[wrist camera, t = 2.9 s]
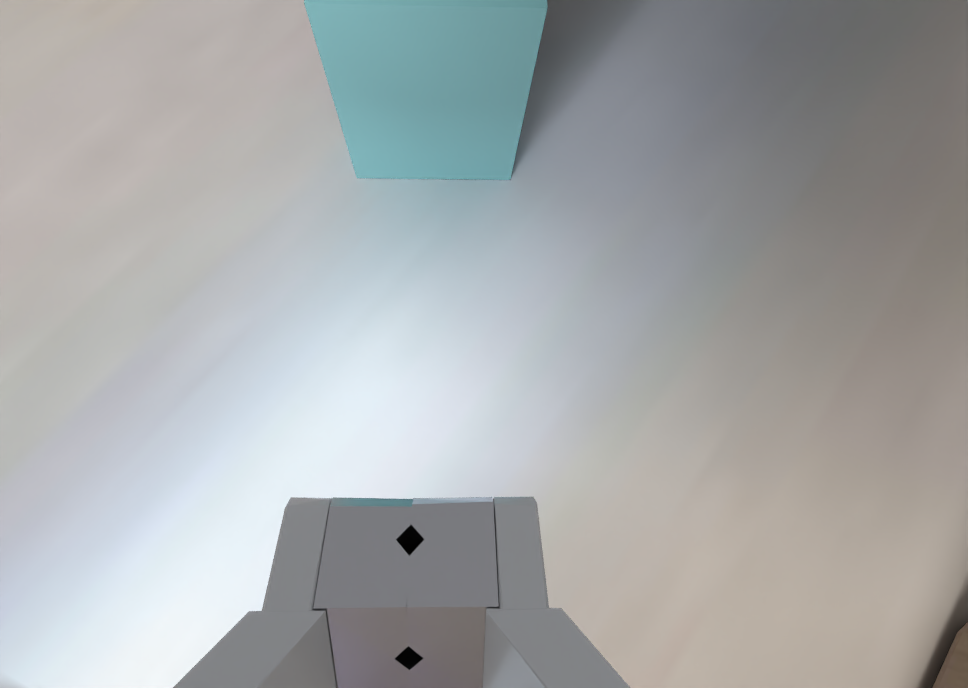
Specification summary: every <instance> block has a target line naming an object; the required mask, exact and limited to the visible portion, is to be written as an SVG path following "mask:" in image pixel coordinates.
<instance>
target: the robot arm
mask: <svg viewBox="0 0 968 688" xmlns="http://www.w3.org/2000/svg"><path fill="white" fill-rule="evenodd" d="M173 688H630V687H629V686H628V684H627V683H626V682H625V681H624V680H623V679H622V678H621V676H620V675H619V674H618V673H617V672H616V671H615V669H614V668H613V667H612V666H611V665H610V664H609V663H608V661H607V660H606V659H605V658H604V657H603V656H602V655H601V653H600V652H599V651H598V650H597V649H596V648H595V646H594V645H593V644H592V643H591V642H590V641H589V640H588V638H587V637H586V636H585V635H584V634H583V633H582V632H581V630H580V629H579V628H578V627H577V626H576V625H575V623H574V622H573V621H572V620H571V619H570V618H569V617H568V615H567V614H566V613H565V612H564V611H563V610H562V609H561V608H549V605H548V596H547V587H546V578H545V569H544V561H543V552H542V543H541V534H540V526H539V517H538V508H537V502H536V501H535V499H534V497H494V499H492V497H466V498H413V499H377V498H290V500H289V502H288V504H287V506H286V507H285V511H284V515H283V520H282V524H281V528H280V533H279V537H278V542H277V546H276V551H275V555H274V559H273V564H272V568H271V573H270V577H269V582H268V586H267V590H266V595H265V599H264V604H263V608H262V611H249V612H248V613H247V614H246V615H245V616H244V617H243V618H242V619H241V620H240V621H239V622H238V623H237V624H236V625H235V626H234V627H233V628H232V629H231V630H230V631H229V632H228V633H227V634H226V635H225V636H224V637H223V638H222V639H221V640H220V641H219V642H218V643H217V644H216V645H215V646H214V647H213V648H212V649H211V650H210V651H209V652H208V653H207V654H206V655H205V656H204V657H203V658H202V659H201V660H200V661H199V662H198V663H197V664H196V665H195V666H194V667H193V668H192V669H191V670H190V671H189V672H188V673H187V674H186V675H185V676H184V677H183V678H182V679H181V680H180V681H179V682H178V683H177V684H176V685H175V686H174V687H173Z"/></svg>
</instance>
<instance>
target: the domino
mask: <svg viewBox="0 0 968 688" xmlns="http://www.w3.org/2000/svg"><path fill="white" fill-rule="evenodd" d="M304 4H305V7H306V11H307V14H308V17H309V21H310V24H311V27H312V31H313V34H314V37H315V41H316V44H317V47H318V51H319V54H320V57H321V60H322V64H323V67H324V70H325V74H326V77H327V80H328V84H329V87H330V90H331V94H332V97H333V100H334V104H335V107H336V110H337V114H338V117H339V120H340V124H341V127H342V130H343V134H344V137H345V140H346V144H347V147H348V150H349V154H350V157H351V160H352V164H353V167H354V170H355V173H356V177H357V178H387V179H482V180H510V179H511V174H512V170H513V165H514V160H515V156H516V151H517V146H518V142H519V137H520V133H521V128H522V123H523V119H524V114H525V109H526V105H527V100H528V96H529V91H530V86H531V82H532V77H533V73H534V68H535V63H536V59H537V54H538V49H539V45H540V40H541V36H542V31H543V26H544V22H545V17H546V13H547V0H304Z"/></svg>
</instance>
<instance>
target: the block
mask: <svg viewBox="0 0 968 688" xmlns="http://www.w3.org/2000/svg"><path fill="white" fill-rule="evenodd" d="M932 688H968V622H967V623H966V624H965V625H964V626H963V627H962V628H961V629H960V630H959V631H958V632H957V634H956V636H955V638H954V641H953V643H952V645H951V647H950V649H949V652H948V654H947V656H946V658H945V661H944V663H943V665H942V667H941V670H940V672H939V674H938V676H937V678H936V681H935V683H934V685H933V687H932Z"/></svg>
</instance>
